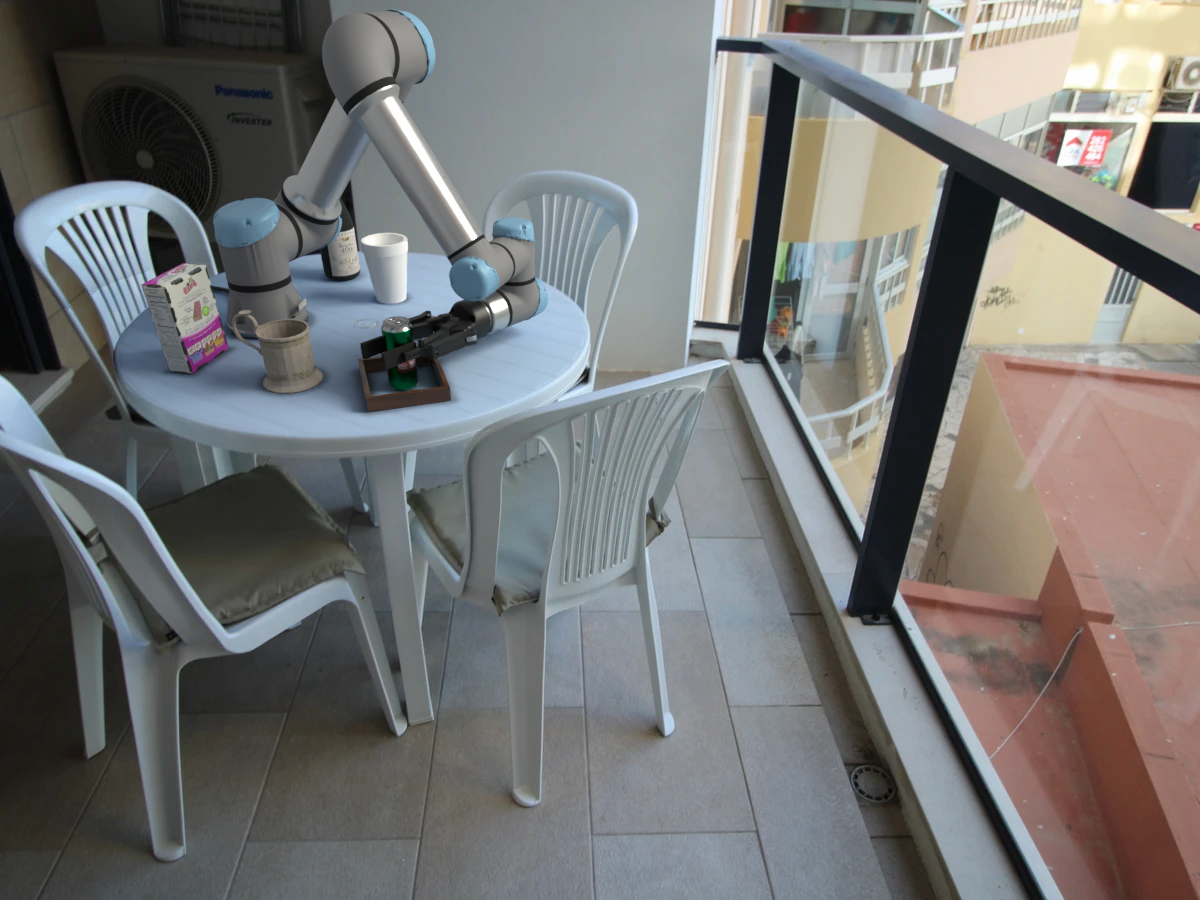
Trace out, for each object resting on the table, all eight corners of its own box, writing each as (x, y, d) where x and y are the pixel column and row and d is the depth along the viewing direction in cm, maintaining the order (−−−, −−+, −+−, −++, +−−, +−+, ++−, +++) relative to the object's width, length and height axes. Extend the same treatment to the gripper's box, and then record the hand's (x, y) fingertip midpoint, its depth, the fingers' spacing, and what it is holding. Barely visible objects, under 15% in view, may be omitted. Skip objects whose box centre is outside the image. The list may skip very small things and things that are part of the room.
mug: (333, 371, 139) (321, 308, 132) (303, 396, 131) (289, 330, 124) (261, 361, 141) (246, 299, 135) (227, 385, 133) (210, 320, 127)
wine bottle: (367, 276, 180) (347, 140, 164) (336, 285, 175) (313, 145, 159) (349, 268, 184) (327, 134, 168) (318, 276, 180) (293, 139, 164)
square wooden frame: (359, 371, 139) (357, 358, 138) (435, 361, 143) (434, 349, 142) (368, 412, 127) (366, 398, 125) (451, 400, 131) (450, 387, 129)
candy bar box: (206, 346, 146) (182, 261, 138) (230, 349, 146) (208, 264, 137) (166, 372, 137) (139, 283, 128) (192, 375, 136) (166, 285, 128)
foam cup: (422, 296, 170) (416, 238, 163) (392, 309, 163) (384, 249, 157) (391, 287, 174) (384, 230, 167) (360, 300, 168) (351, 240, 161)
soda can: (404, 395, 132) (396, 329, 125) (382, 387, 134) (373, 322, 128) (425, 383, 135) (417, 319, 129) (403, 376, 138) (395, 312, 131)
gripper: (513, 349, 140) (410, 394, 125) (448, 322, 149) (344, 360, 134) (512, 310, 136) (404, 351, 121) (444, 285, 145) (337, 320, 130)
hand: (373, 356), depth 127 cm, fingers closed on soda can, 5 cm apart
